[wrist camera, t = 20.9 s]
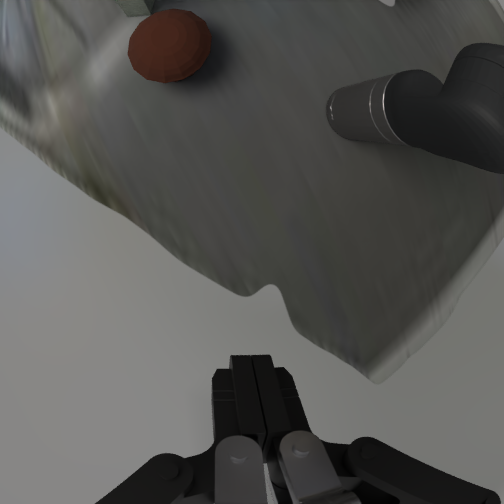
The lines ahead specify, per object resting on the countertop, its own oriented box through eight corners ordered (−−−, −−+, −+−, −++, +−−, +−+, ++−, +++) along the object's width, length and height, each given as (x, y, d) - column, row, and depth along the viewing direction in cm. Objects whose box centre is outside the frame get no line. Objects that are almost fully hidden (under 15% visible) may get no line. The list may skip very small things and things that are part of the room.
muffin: (222, 73, 38) (225, 56, 28) (154, 102, 38) (138, 93, 29) (195, 14, 33) (192, -13, 24) (130, 43, 33) (110, 22, 24)
